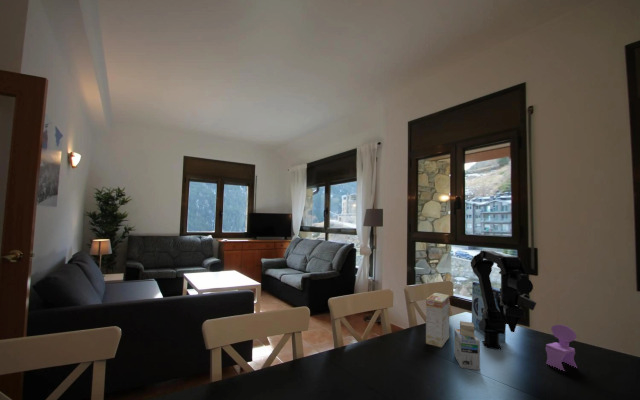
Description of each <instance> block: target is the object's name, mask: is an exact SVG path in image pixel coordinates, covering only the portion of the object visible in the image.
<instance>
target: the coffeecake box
mask: <svg viewBox="0 0 640 400" xmlns="http://www.w3.org/2000/svg"><path fill="white" fill-rule="evenodd" d="M425 304H426V305H425V310H426V311H425V314H426V315H425V344H426V345H430V346H434V347H438V348H443V346H444V345H445V343H447V340H449V338H450V294H444V293H440V292H434V293H432V294H431V295H429V297H427V298H426V299H425Z"/></svg>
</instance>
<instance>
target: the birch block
mask: <svg viewBox="0 0 640 400" xmlns="http://www.w3.org/2000/svg"><path fill="white" fill-rule="evenodd" d="M459 329H460V333H461V335H462V336H469V337H474V335H475V328H474V324H473V323H472V321H471V322H470V321H463V320H460V321H459Z"/></svg>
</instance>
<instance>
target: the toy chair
mask: <svg viewBox="0 0 640 400" xmlns="http://www.w3.org/2000/svg"><path fill="white" fill-rule="evenodd" d="M551 332H552V334H553V336H554V337H555V338H556V339H558V342H555V341H554V342H552V343H547V344H545V353H546V356H547V358H546V359H547V360H546V362H545V365H547V364H548V365H547V366H549V365H550V367H552V366H553V367H552V368H554V367H556V368H558V369H557V370H559V369H560V370H559V371H561V370H563V371H565V372H566V370H565V368H564V366H563V364H562V362H565V363H567V364H569V365H568V366H570V365H571V366H570V367H572V366H574V367H573V368H575V367H576V368H575V369H578V366H577V364H576V362H575V358H574V357H575V355H576V349H575V348H574V347H571V346H570V343H572V342H573V341H575V340H576V339H577V334H576V333H575V331H574V330H573V329H572V328H570V326H566V325H564V324H554V325H552V326H551ZM565 363H564V364H565ZM567 364H566V365H567ZM556 368H555V369H556ZM563 371H562V372H563Z"/></svg>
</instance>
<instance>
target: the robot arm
mask: <svg viewBox="0 0 640 400" xmlns="http://www.w3.org/2000/svg"><path fill="white" fill-rule="evenodd" d="M495 264H496V267H497V268H498V269H499V270H500V271H498V274H500V287H499V289H500V291H501V296H498V297H497V298H496V303H497V305H498V308H499V310H500V311H499V310H498V309H497V307H496V303H495V298H494V294H493V290H492V287H493V286H492V281H491V277H490V275H491V274H492V271H493V266H494V265H495ZM470 267H471V269H472V273H473V274H474V275H475V276H476V277H477V279H478V282H479V284H480V289H481V294H482V299H483V304H484V309H485V310H484V312H483V314H482V320H481V321H480V323H479V329H480V330H481V331H483V332H484V333H483V340H482V341H481V342H482V345H483V348H488V349H495V350H500V351H501V350H502V347H501V346H500V342H499V333H500V334H504V332H505V328H506V329H507V327H506V326H507V325H508V328H509V330H510V332H511V333H515V332H516V328H517V325H518V322H519V320H521V319H523V318H526V311H525V310H524V309H523V308H522V307H525V308H528V309H529V310H531V311H534V310H535V308H536V305H537V302H536V301H535V300H533V299H531V297H530V295H528V294H530V293H531V292H532V291H533V290H534V284H533V282H532V281H531V279H529V278H528V275H527V272H526V271H527V270H526V267H524V265H523V262H522V260H521V259H520V257H519V256H518V255H505V254H501V253H499V252H495V251H494V250H492V249H482V250H480V252H479V253H478V254H475V255H474V256H473V257H472V258H471V260H470ZM521 294H522V295H521ZM481 331H480V332H481Z"/></svg>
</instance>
